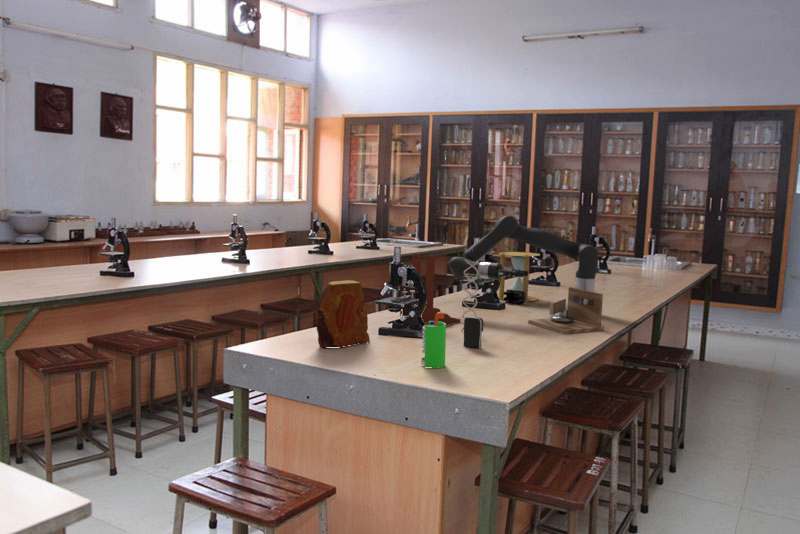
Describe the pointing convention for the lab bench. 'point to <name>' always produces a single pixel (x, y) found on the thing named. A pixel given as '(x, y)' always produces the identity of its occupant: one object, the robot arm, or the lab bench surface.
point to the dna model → (471, 289)
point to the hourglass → (519, 262)
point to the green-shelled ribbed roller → (434, 343)
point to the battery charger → (473, 331)
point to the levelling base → (578, 313)
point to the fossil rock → (342, 315)
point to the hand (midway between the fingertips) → (525, 274)
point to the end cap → (515, 297)
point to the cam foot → (560, 312)
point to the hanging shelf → (430, 292)
